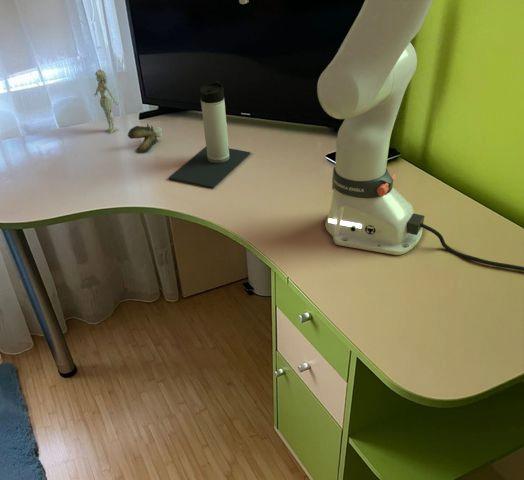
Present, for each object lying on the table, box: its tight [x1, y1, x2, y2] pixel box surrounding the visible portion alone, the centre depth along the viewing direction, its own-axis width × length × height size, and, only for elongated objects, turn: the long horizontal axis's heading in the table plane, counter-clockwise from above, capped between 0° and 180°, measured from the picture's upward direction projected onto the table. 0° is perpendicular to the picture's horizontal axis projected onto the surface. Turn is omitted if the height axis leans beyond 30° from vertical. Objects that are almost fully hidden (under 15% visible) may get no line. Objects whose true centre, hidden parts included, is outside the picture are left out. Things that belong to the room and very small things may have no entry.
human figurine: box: [93, 69, 120, 134], centre depth 171 cm, size 12×4×18 cm, turn 47°
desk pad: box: [168, 146, 251, 190], centre depth 157 cm, size 14×22×1 cm, turn 154°
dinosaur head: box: [127, 123, 163, 154], centre depth 166 cm, size 8×7×9 cm
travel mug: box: [199, 81, 230, 164], centre depth 152 cm, size 6×7×20 cm
